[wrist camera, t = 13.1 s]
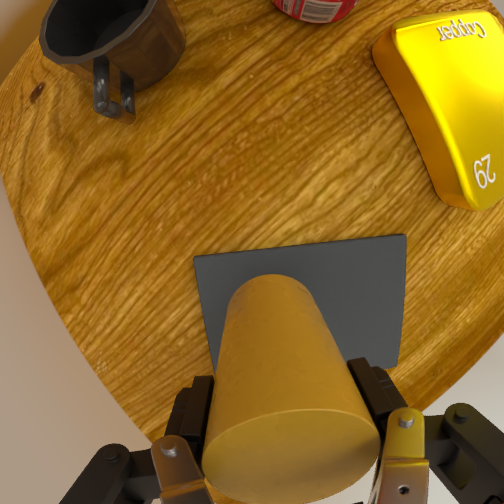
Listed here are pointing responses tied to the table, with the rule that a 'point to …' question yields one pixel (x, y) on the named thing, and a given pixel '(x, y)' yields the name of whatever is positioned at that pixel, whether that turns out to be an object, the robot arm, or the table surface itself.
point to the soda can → (316, 9)
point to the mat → (321, 290)
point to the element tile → (451, 99)
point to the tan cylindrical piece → (284, 402)
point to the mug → (114, 46)
